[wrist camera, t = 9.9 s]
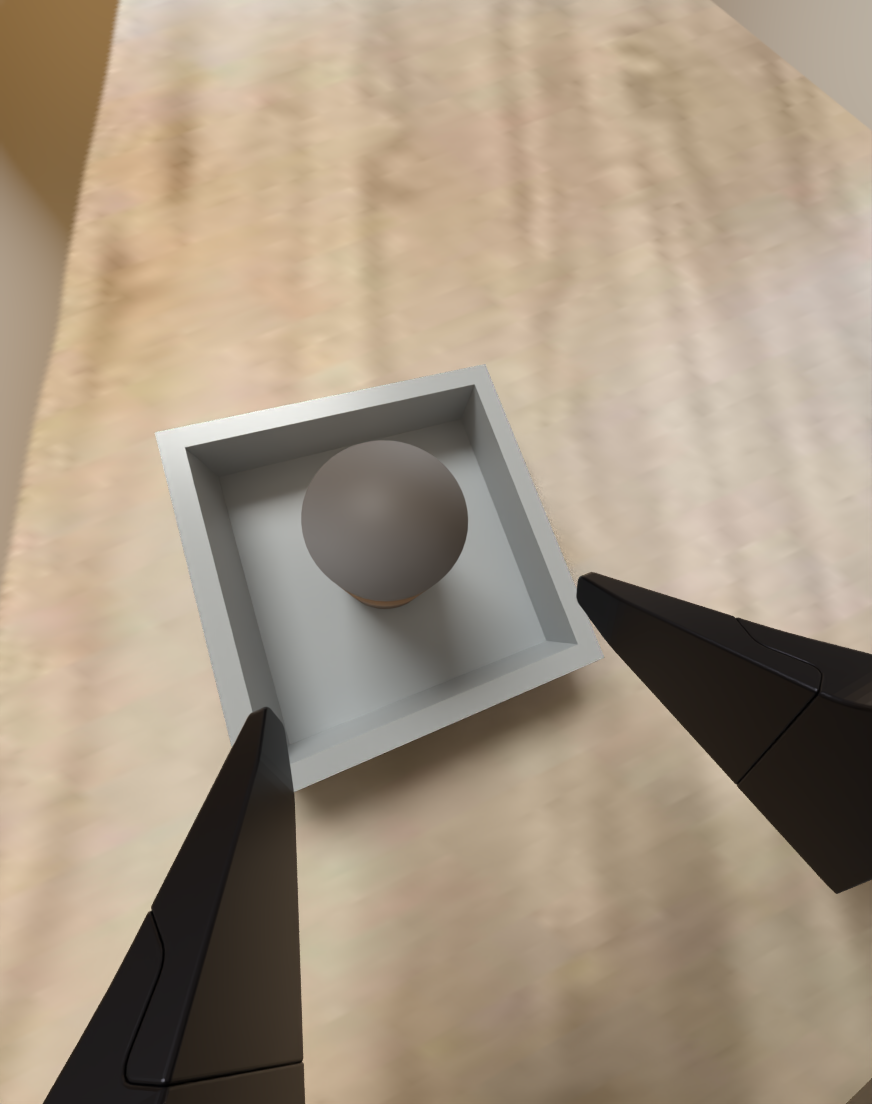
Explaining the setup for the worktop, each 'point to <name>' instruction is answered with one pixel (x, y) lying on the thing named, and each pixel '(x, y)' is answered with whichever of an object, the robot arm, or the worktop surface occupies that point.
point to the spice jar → (384, 521)
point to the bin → (337, 617)
